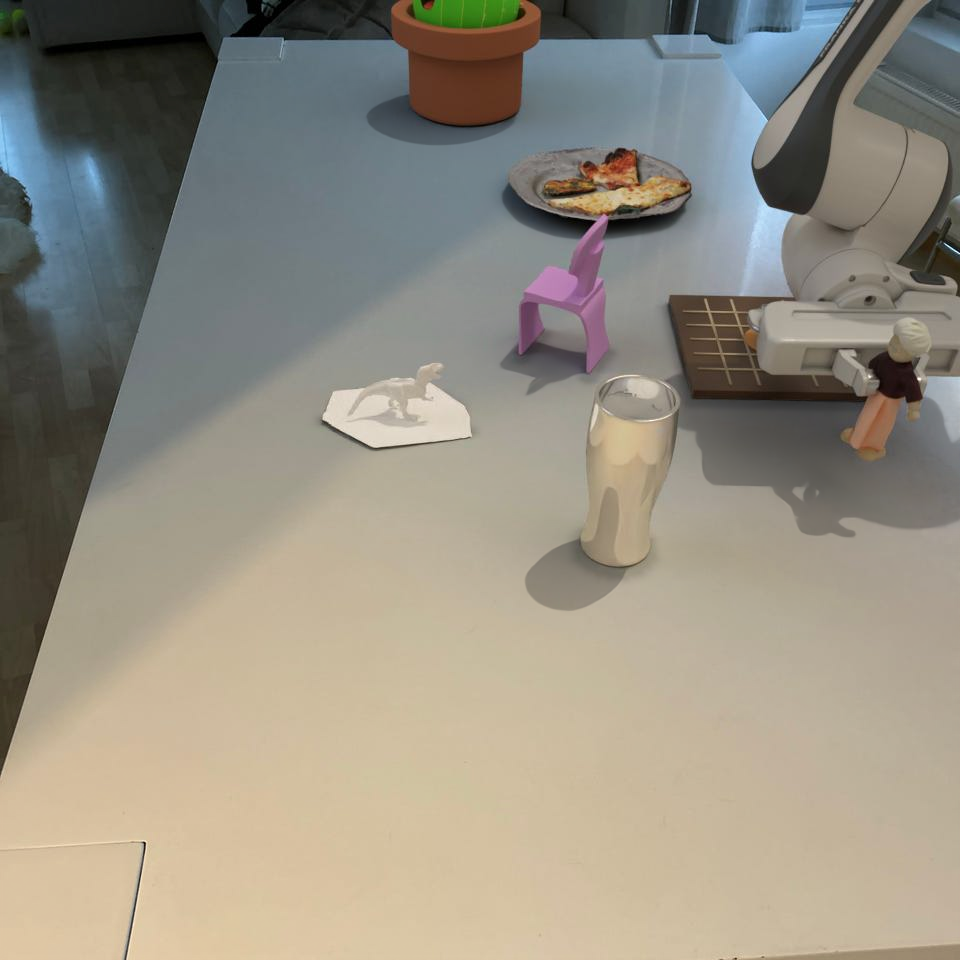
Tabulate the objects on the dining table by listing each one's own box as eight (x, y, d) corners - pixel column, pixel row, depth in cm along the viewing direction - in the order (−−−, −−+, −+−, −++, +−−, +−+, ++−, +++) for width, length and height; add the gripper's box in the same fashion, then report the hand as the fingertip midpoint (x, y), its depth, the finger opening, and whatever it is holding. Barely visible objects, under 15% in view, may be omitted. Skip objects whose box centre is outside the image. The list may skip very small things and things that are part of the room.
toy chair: (541, 323, 111) (550, 189, 100) (613, 341, 109) (630, 206, 98) (510, 357, 106) (516, 220, 95) (585, 378, 104) (600, 239, 93)
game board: (837, 305, 115) (840, 296, 115) (883, 401, 102) (887, 392, 101) (668, 302, 115) (669, 293, 114) (691, 398, 102) (693, 388, 101)
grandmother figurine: (820, 432, 90) (864, 305, 81) (851, 421, 92) (898, 294, 82) (880, 479, 86) (934, 349, 76) (912, 467, 87) (969, 338, 78)
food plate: (645, 155, 145) (649, 129, 143) (719, 221, 130) (725, 194, 128) (486, 173, 140) (486, 147, 137) (544, 245, 125) (546, 218, 122)
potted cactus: (470, 74, 168) (472, -106, 150) (562, 110, 157) (576, -80, 139) (369, 103, 158) (357, -87, 139) (459, 144, 147) (460, -56, 128)
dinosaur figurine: (319, 464, 97) (303, 413, 92) (341, 384, 104) (327, 333, 99) (469, 463, 95) (461, 411, 90) (481, 381, 102) (474, 328, 97)
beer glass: (601, 508, 89) (621, 362, 78) (668, 538, 86) (699, 391, 75) (560, 549, 85) (574, 401, 74) (629, 582, 83) (655, 434, 72)
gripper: (750, 275, 91) (780, 355, 81) (971, 277, 91) (1026, 358, 81) (736, 337, 95) (763, 419, 86) (946, 339, 95) (996, 422, 86)
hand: (893, 389), depth 84 cm, fingers closed on grandmother figurine, 3 cm apart
